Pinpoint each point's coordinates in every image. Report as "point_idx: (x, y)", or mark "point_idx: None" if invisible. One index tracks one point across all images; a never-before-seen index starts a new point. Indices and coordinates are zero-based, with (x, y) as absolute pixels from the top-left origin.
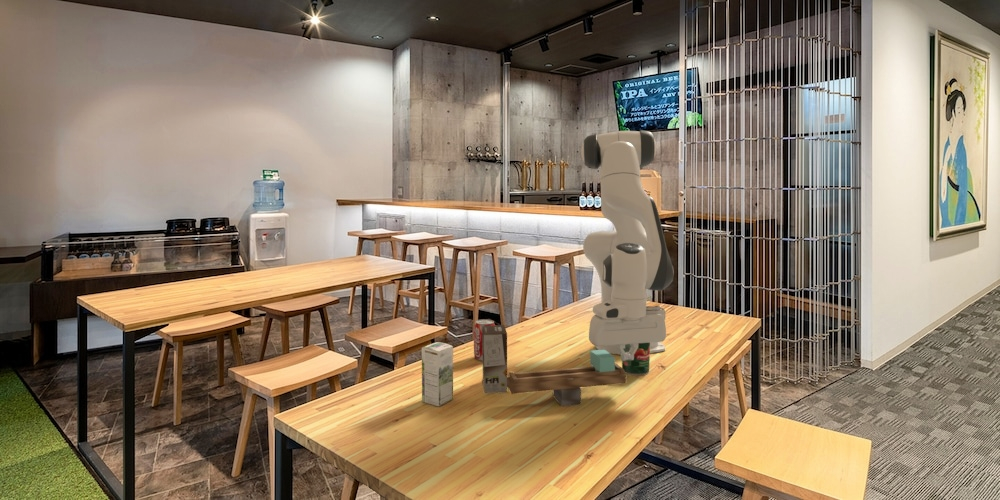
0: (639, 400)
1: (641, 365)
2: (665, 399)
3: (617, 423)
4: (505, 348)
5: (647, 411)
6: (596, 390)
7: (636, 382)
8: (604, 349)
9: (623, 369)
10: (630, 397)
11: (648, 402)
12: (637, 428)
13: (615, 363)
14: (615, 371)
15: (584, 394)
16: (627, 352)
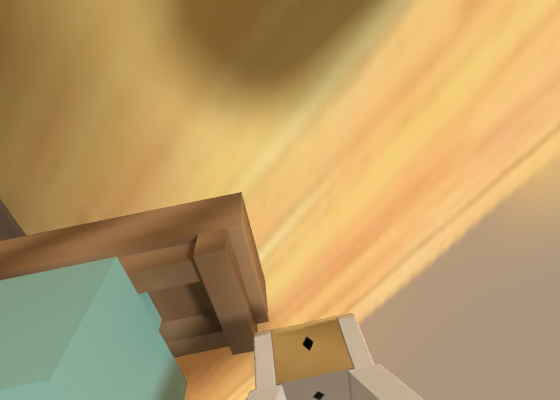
0: (310, 249)
1: None
2: (413, 240)
3: (192, 381)
4: None
5: (304, 321)
6: (130, 144)
7: (388, 28)
8: (48, 379)
9: (253, 346)
10: (284, 224)
11: (337, 264)
12: (242, 395)
13: (219, 250)
14: (198, 349)
15: (66, 193)
16: (328, 380)
